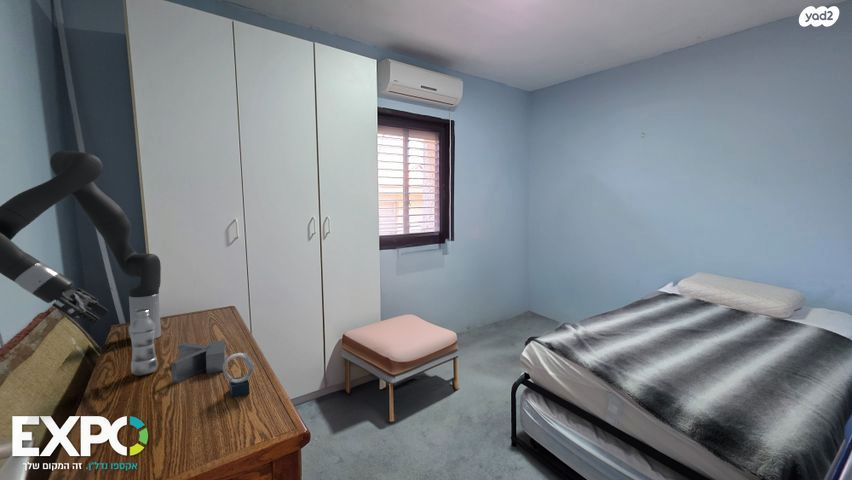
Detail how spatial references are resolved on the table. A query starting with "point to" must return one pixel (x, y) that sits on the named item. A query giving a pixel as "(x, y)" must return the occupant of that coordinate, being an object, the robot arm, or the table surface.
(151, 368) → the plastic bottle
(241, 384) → the watch
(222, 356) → the v block
